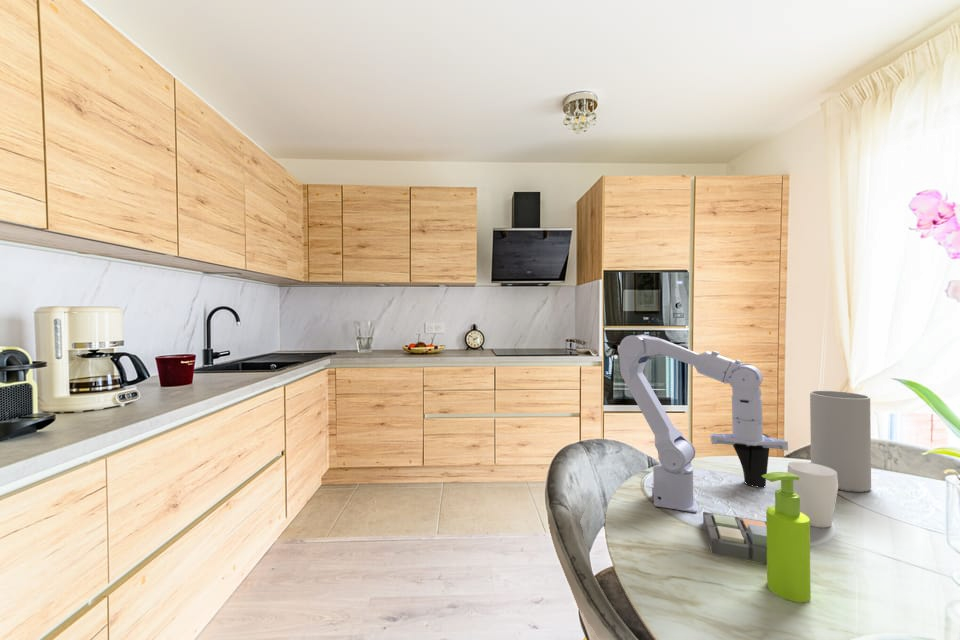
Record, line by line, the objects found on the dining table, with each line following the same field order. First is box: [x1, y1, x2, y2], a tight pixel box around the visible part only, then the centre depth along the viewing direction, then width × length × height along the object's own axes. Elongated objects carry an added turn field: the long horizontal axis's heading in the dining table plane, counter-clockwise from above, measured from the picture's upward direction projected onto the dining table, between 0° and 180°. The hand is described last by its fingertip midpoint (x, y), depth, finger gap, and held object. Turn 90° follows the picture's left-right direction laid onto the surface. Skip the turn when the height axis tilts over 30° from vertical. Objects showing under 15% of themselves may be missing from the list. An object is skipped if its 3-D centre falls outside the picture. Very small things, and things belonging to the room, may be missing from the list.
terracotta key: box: [741, 517, 767, 531], centre depth 84 cm, size 4×4×2 cm
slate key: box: [748, 524, 767, 547], centre depth 79 cm, size 4×4×2 cm
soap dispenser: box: [762, 471, 812, 603], centre depth 68 cm, size 6×7×20 cm
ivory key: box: [717, 526, 744, 543], centre depth 81 cm, size 4×4×2 cm
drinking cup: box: [743, 432, 772, 488], centre depth 112 cm, size 8×8×20 cm
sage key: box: [713, 513, 738, 529], centre depth 86 cm, size 4×4×2 cm
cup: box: [787, 461, 838, 528], centre depth 91 cm, size 9×9×12 cm
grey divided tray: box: [702, 511, 767, 565], centre depth 82 cm, size 13×13×2 cm
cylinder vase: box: [809, 390, 872, 493], centre depth 111 cm, size 12×12×25 cm
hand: (748, 478), depth 90 cm, fingers closed
